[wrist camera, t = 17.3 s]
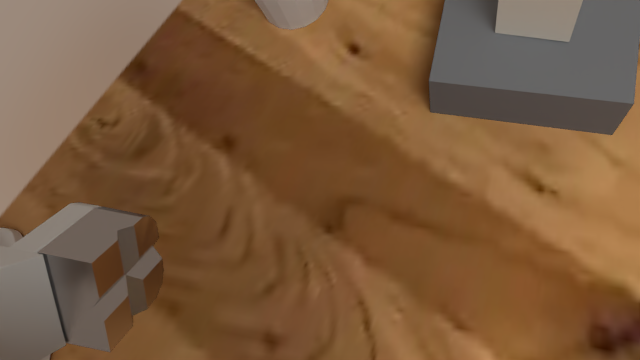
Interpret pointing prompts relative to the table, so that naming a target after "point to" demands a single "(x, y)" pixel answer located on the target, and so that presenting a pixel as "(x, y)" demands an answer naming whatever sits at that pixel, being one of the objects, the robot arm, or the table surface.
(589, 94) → the slate block
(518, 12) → the cream block
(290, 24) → the white cylinder
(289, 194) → the table surface
